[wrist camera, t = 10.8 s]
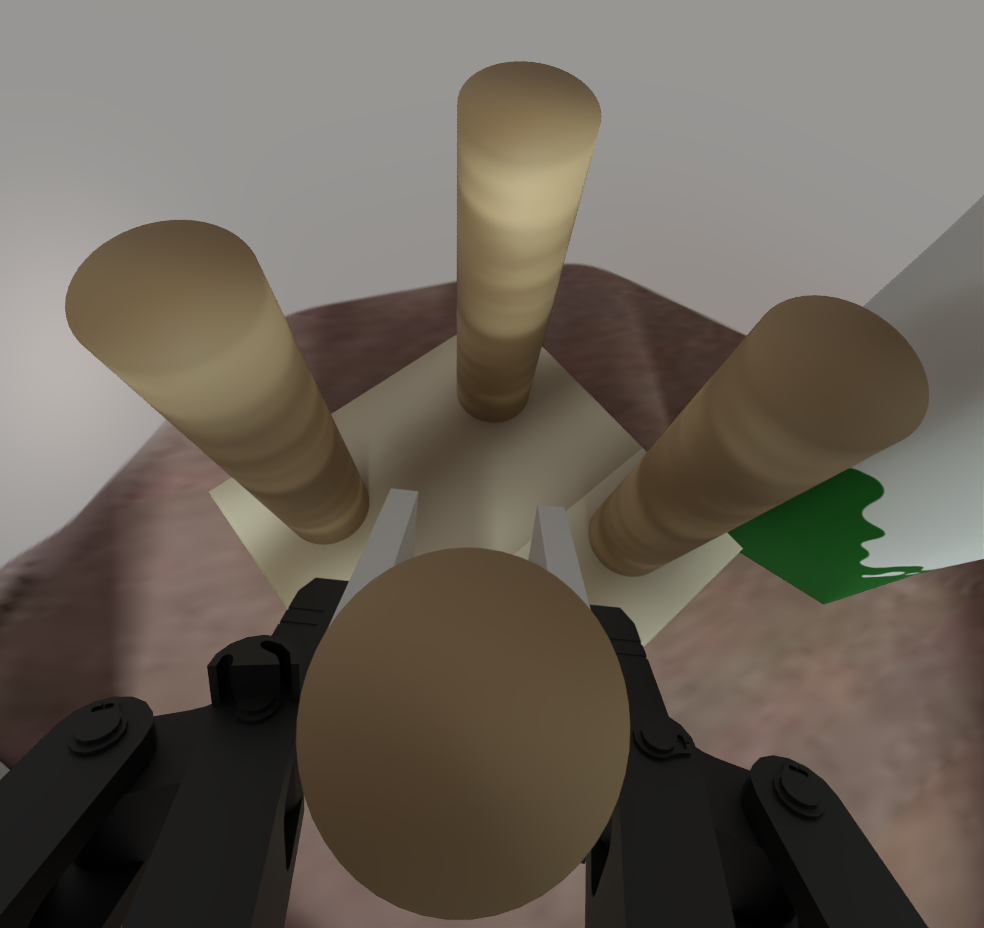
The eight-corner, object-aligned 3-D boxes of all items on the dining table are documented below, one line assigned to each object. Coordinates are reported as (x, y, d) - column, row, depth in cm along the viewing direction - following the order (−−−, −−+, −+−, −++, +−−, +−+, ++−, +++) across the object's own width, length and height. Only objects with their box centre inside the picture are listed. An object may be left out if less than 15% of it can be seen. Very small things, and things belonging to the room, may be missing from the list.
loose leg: (526, 692, 17) (697, 732, 5) (446, 767, 16) (436, 1024, 4) (463, 611, 18) (488, 490, 6) (384, 678, 17) (230, 688, 5)
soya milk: (734, 400, 28) (1257, -115, 10) (891, 489, 27) (1849, 81, 8) (664, 527, 25) (1233, 125, 7) (837, 635, 24) (2162, 498, 5)
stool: (710, 562, 25) (1090, 395, 10) (447, 820, 20) (423, 1227, 5) (497, 341, 29) (541, -12, 14) (236, 512, 24) (-110, 257, 9)
